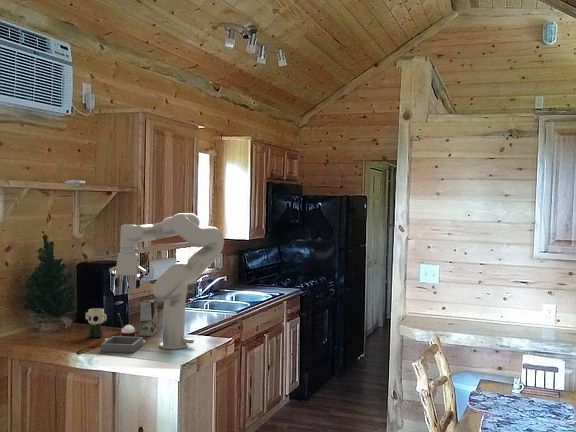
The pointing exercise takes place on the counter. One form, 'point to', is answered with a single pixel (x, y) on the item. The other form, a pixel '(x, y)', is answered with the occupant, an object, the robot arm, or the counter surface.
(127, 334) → the cocoa
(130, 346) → the tray
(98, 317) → the big headed toy figurine
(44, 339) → the counter surface
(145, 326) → the coffee box
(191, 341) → the robot arm
